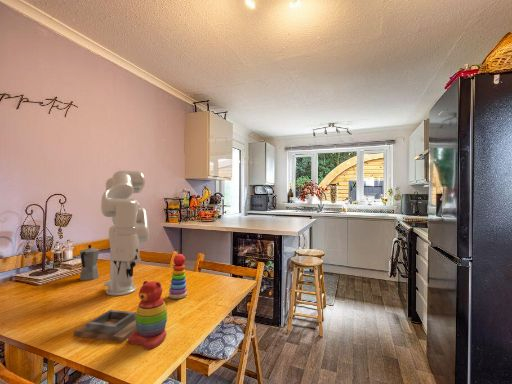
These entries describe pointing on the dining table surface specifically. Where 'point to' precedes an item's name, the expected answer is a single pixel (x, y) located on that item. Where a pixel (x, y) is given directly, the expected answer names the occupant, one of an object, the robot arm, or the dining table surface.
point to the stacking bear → (150, 317)
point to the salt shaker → (124, 276)
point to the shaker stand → (110, 326)
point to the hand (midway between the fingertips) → (125, 277)
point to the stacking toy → (178, 279)
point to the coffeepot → (89, 263)
